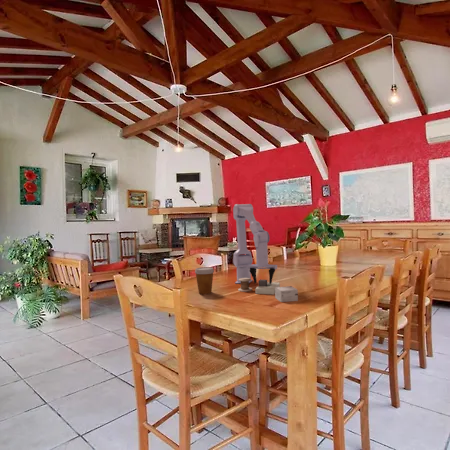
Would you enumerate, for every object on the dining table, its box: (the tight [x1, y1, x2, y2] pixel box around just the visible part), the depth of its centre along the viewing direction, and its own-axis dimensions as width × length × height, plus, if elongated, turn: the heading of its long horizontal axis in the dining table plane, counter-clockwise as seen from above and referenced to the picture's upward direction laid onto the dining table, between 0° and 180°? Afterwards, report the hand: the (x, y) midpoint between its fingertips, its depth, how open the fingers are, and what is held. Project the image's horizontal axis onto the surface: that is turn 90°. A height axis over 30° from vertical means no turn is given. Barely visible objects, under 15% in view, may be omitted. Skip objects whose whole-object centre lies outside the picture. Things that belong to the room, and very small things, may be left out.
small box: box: [274, 285, 299, 303], centre depth 145 cm, size 8×8×5 cm
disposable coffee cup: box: [194, 266, 215, 295], centre depth 163 cm, size 10×10×12 cm
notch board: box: [254, 281, 281, 295], centre depth 163 cm, size 16×9×2 cm, turn 162°
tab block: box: [258, 279, 268, 287], centre depth 164 cm, size 4×4×5 cm
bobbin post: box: [237, 278, 253, 292], centre depth 166 cm, size 7×7×6 cm
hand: (262, 283), depth 164 cm, fingers open, 7 cm apart
